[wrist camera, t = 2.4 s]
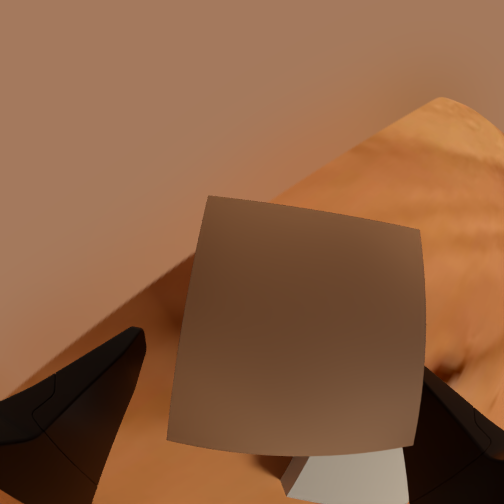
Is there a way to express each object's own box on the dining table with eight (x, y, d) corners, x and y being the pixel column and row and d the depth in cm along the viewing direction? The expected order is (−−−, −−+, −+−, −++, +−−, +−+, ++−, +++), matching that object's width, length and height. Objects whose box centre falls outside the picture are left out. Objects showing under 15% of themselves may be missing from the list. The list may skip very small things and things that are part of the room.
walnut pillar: (292, 387, 16) (413, 445, 4) (219, 379, 16) (166, 439, 4) (299, 318, 17) (419, 229, 5) (228, 309, 17) (208, 195, 5)
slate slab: (385, 495, 13) (403, 508, 10) (279, 477, 14) (286, 496, 11) (432, 392, 16) (456, 394, 13) (335, 361, 17) (352, 360, 14)
